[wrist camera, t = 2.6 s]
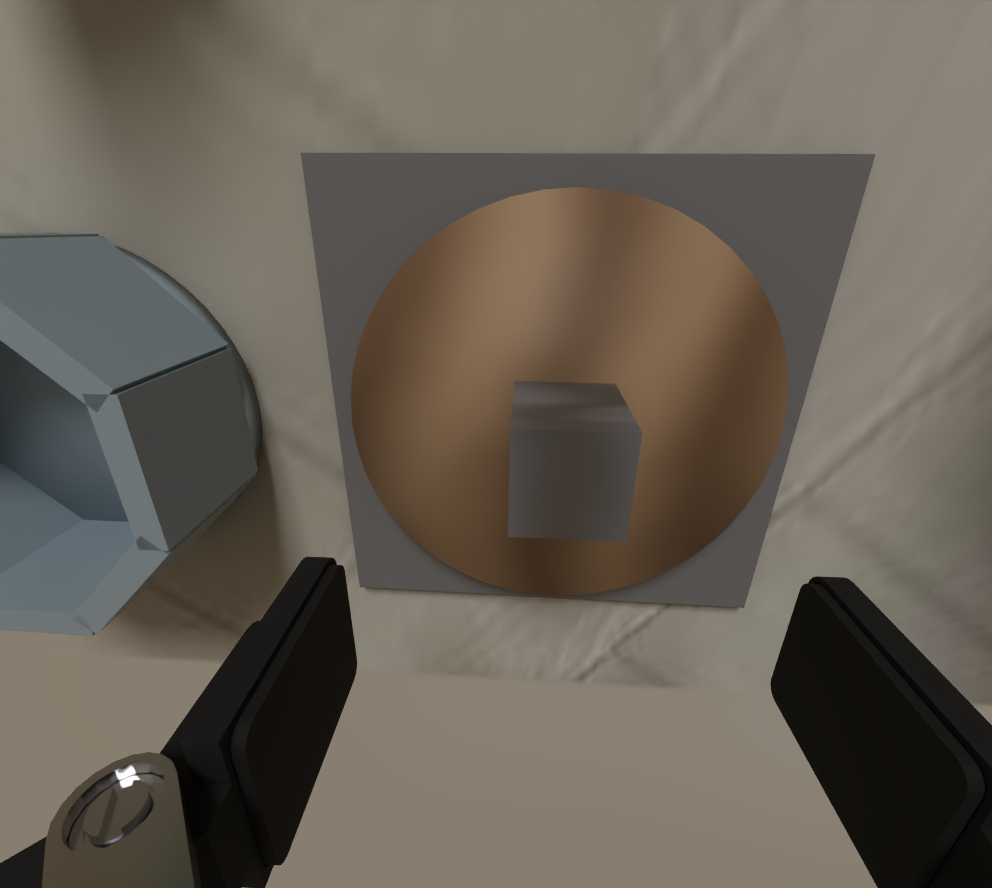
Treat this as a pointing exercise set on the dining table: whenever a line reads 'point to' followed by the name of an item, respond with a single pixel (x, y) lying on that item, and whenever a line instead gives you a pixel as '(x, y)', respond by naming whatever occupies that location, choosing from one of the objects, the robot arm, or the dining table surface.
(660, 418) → the lid
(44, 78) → the dining table surface
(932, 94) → the dining table surface
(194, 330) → the bowl
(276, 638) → the robot arm
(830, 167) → the mat
